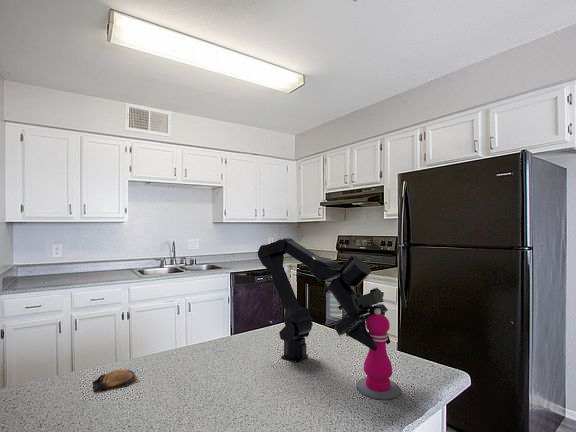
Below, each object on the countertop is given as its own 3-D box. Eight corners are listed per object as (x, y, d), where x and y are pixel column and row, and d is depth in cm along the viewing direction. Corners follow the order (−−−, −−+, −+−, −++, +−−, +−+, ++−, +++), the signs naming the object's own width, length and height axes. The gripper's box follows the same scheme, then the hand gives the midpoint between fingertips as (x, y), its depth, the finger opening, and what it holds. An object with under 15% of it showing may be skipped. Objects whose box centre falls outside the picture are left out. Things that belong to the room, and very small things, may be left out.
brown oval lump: (133, 374, 93) (134, 360, 93) (140, 385, 86) (141, 371, 87) (90, 383, 87) (91, 369, 87) (94, 396, 80) (94, 381, 80)
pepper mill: (385, 379, 88) (385, 304, 89) (397, 392, 81) (396, 311, 82) (359, 380, 87) (359, 305, 88) (369, 393, 80) (369, 312, 81)
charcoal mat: (349, 391, 83) (349, 389, 83) (365, 375, 92) (365, 373, 92) (393, 404, 76) (393, 402, 76) (405, 386, 86) (405, 383, 86)
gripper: (344, 282, 81) (386, 337, 73) (381, 275, 95) (419, 321, 87) (320, 309, 86) (356, 363, 78) (357, 298, 100) (391, 344, 92)
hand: (382, 346), depth 84 cm, fingers open, 7 cm apart
